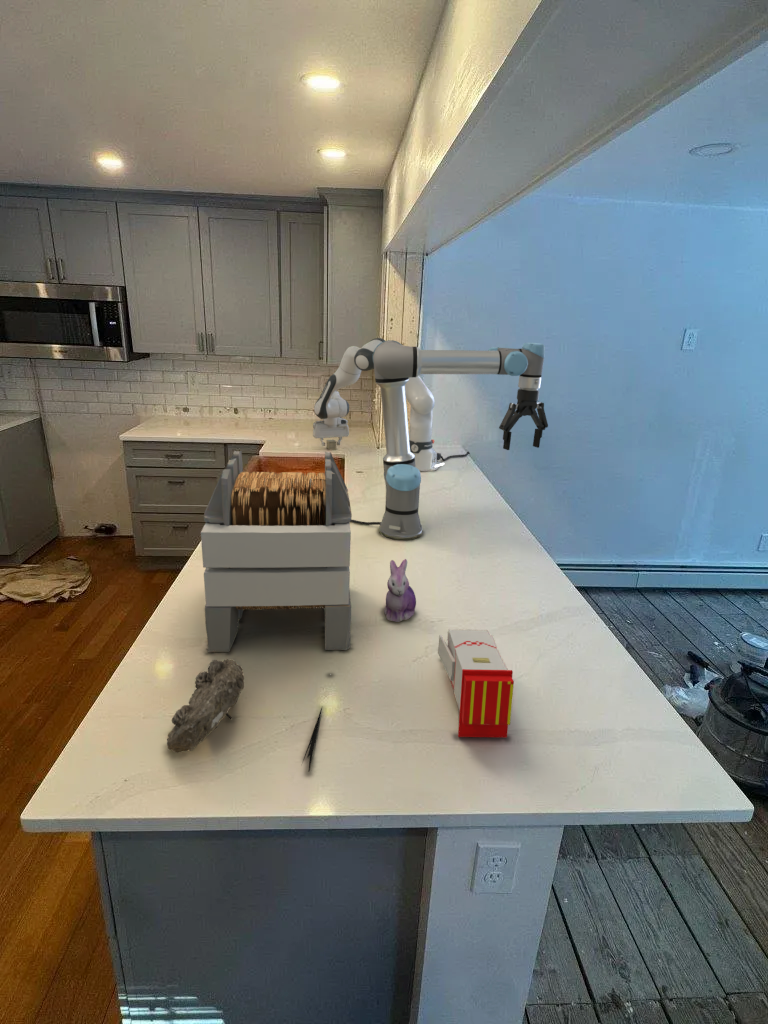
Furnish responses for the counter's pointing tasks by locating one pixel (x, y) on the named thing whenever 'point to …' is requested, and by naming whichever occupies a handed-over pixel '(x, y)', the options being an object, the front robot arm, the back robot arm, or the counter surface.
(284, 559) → the record storage crate
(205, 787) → the counter surface
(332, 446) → the metal block
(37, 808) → the counter surface
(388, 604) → the figurine
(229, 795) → the counter surface
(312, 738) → the feather
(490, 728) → the toy
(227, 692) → the fossil
